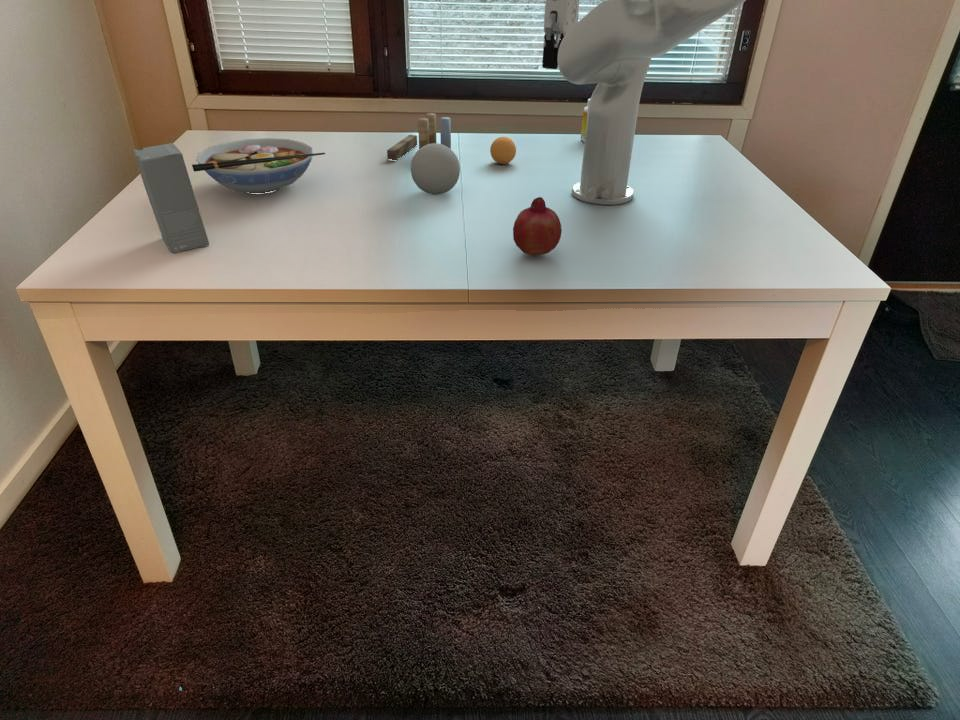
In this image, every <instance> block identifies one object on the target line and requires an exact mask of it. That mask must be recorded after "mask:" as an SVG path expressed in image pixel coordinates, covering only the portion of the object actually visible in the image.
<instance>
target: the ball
mask: <svg viewBox="0 0 960 720" xmlns="http://www.w3.org/2000/svg"><path fill="white" fill-rule="evenodd" d="M459 161H460V160H459V159H458V156H457V154H456V153H455V152H454V151H453V150H452V148H451V149H450V148H448V147H447V146H445V145H442V144H441V143H438V142H436V143H432V144H427V145H425V146H423V147H421V148H420V149H419V148H418V150H417V151H416V152H415V153H414V155H413V157H412V158H411V164H410V175H411V178H412V180H413V183H414V184H415V185H416V186H417V188H418V189H420V190H421V191H422V192H424V193H426V194H428V195H434V196H436V195H437V196H439V195H443V194H445V193H448V192H449V191H450V190H452V189H453V188H454V187H455V186H456V184H457V183H458V181H459V178H460V174H461V166H460V162H459Z"/></svg>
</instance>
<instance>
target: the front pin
mask: <svg viewBox="0 0 960 720" xmlns="http://www.w3.org/2000/svg"><path fill="white" fill-rule="evenodd" d="M439 121H440V123H439V124H440V128H439V131H440V144H442V145H445V146H447V147H448V148H450V149H451V150H452V134H451V133H452V132H451V131H452V130H451V129H452V126H451V125H452V124H451V123H452V121H451V117H448V116H441V117H440V118H439Z"/></svg>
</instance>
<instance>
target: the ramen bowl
mask: <svg viewBox="0 0 960 720" xmlns="http://www.w3.org/2000/svg"><path fill="white" fill-rule="evenodd" d="M322 155H323V156H324V155H326V152H319V153H317V152H316V153H314V146H311V145H310V144H308V143H306V142H304V141H299V140H294V139H290V138H289V139H288V138H274V137H263V138H261V137H260V138H246V139H239V140H233V141H232V140H231V141H227V142H224V143H220V144H216V145H213V146H209V147H207V148H206V149H204V150H202V151H201V152H199V153H198V155H196V156H197V157H196V159H195V161H196V162H197V163H193V164H191V168H192V170H193V172H200V171H201V172H202V171H205V172H206V174H207V175H208V176H209V177H211V179H213V180H215V181H216V182H217V183H218V184H220V185H221V186H222V187H225V188H227V189H230V190H235V191H238V192H242V193H246V192H249V193H265V192H270V191H274V190H278V189H279V190H280V188H281V189H283V188H286V187H288V186H290V185H292V184H294V183H295V182H296V181H297V180H298V179H300V178H301V177H302V176H303V175H304V173H305V172H306V171H307V170H308V167H309V166H310V163H311V162H312V160H313V157H315V156H322ZM279 190H278V191H279ZM249 193H248V194H249Z"/></svg>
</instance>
